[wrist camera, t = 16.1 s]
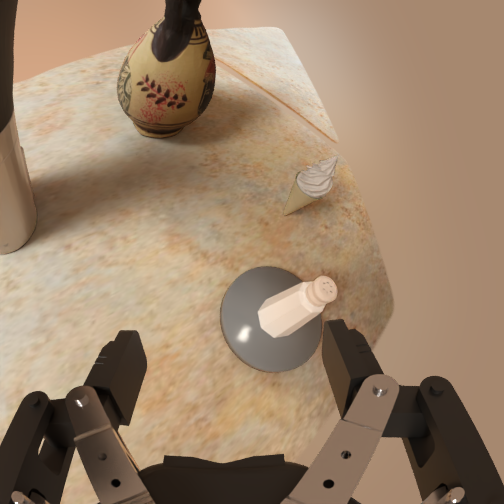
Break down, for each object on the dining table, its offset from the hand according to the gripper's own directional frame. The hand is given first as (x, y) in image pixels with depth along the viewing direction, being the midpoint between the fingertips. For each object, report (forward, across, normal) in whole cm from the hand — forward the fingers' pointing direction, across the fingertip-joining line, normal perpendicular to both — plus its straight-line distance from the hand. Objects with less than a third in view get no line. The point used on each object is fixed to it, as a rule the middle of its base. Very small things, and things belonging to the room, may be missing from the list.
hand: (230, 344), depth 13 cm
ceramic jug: (+42, +14, -12) cm, 46 cm away
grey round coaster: (+23, -4, +15) cm, 28 cm away
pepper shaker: (+22, -4, +14) cm, 27 cm away
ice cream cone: (+37, -7, +5) cm, 38 cm away
